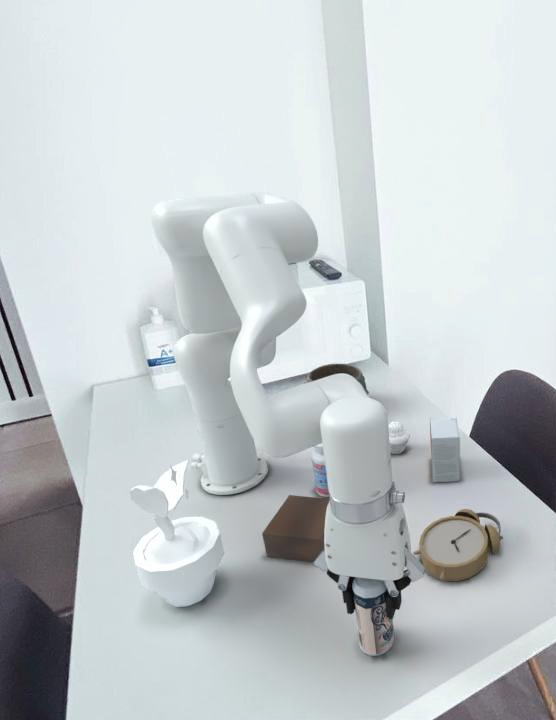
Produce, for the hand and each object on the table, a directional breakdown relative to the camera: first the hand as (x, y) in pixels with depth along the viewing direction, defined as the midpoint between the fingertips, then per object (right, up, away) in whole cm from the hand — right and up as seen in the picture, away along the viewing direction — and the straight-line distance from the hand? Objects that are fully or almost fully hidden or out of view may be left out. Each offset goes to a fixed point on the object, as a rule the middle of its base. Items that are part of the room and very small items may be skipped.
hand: (373, 606), depth 73 cm
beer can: (0, -6, +3) cm, 7 cm away
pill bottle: (-14, +7, +34) cm, 38 cm away
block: (-15, +2, +22) cm, 26 cm away
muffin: (-3, +13, +47) cm, 49 cm away
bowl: (-19, +20, +64) cm, 70 cm away
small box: (+8, +10, +40) cm, 42 cm away
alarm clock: (+12, +1, +19) cm, 22 cm away
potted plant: (-30, -3, +12) cm, 32 cm away
